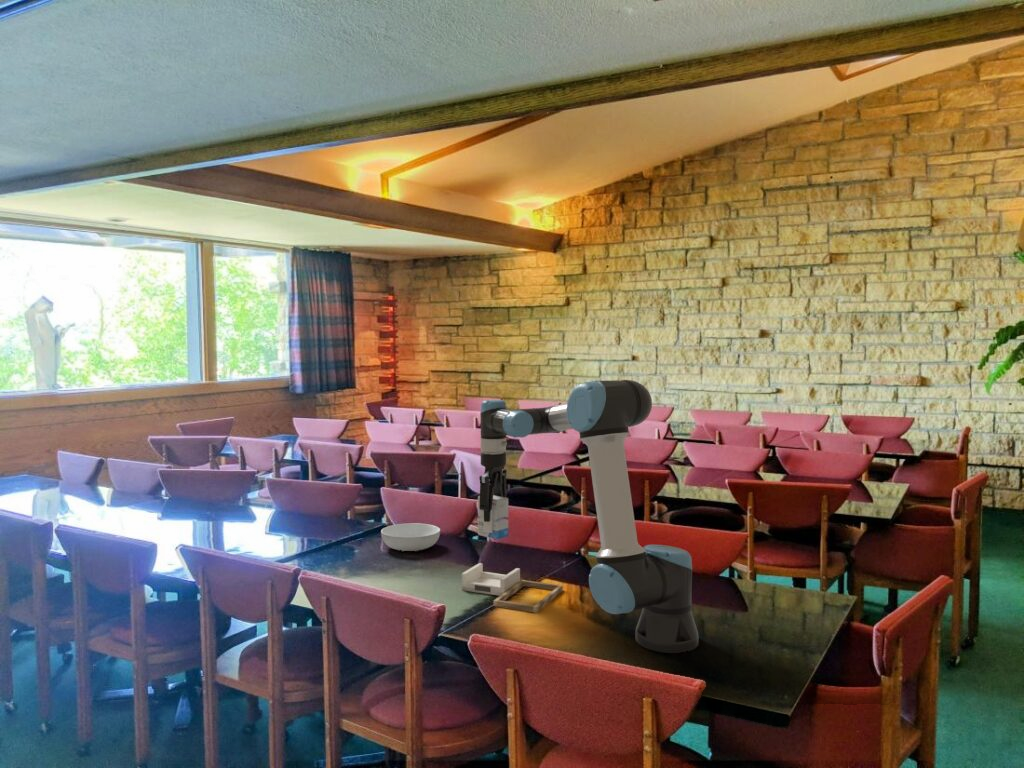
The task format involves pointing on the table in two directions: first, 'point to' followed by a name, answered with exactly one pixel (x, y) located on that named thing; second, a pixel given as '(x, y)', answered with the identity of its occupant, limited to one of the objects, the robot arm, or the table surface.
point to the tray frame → (524, 607)
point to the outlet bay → (488, 580)
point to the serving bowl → (410, 536)
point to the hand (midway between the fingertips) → (493, 529)
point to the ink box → (495, 518)
